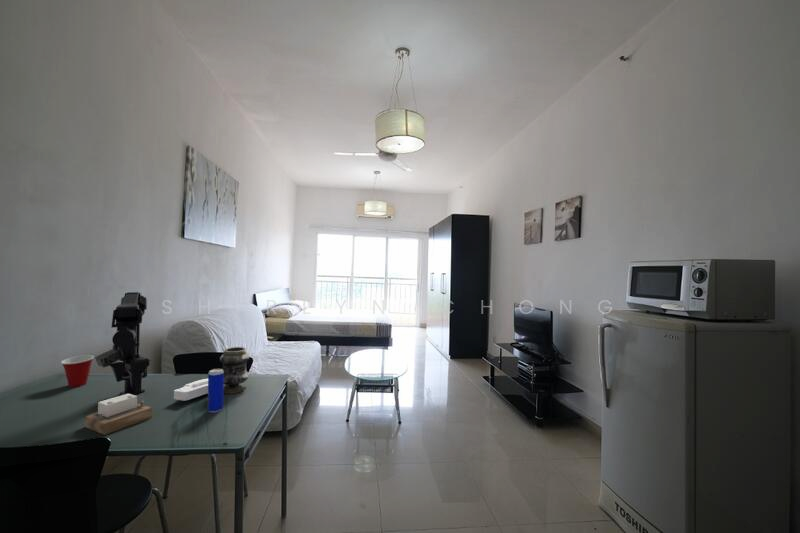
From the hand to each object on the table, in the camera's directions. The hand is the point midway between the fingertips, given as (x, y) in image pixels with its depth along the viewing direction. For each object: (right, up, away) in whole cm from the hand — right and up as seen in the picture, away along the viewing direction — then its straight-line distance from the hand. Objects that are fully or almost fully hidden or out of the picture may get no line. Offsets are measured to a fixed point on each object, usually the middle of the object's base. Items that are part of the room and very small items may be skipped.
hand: (125, 383), depth 123 cm
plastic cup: (-45, -11, +29) cm, 55 cm away
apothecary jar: (+25, -12, +28) cm, 40 cm away
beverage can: (+29, -12, +6) cm, 32 cm away
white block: (+1, -8, -4) cm, 9 cm away
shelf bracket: (+9, -9, +24) cm, 27 cm away
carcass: (+2, -12, -5) cm, 13 cm away
